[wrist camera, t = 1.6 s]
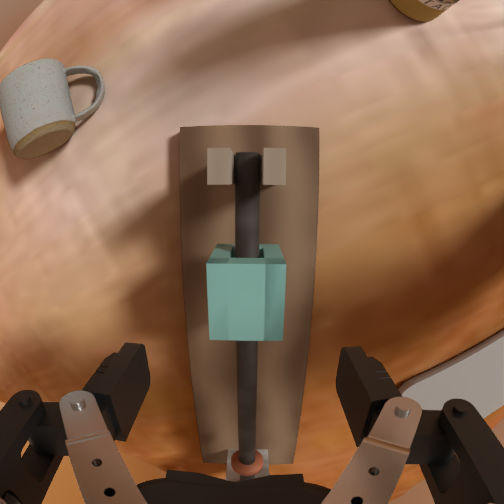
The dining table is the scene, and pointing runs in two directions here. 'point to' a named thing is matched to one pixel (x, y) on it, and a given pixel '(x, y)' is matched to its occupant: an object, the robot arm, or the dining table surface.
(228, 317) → the sleeve
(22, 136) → the ceramic mug
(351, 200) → the dining table surface
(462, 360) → the tablet
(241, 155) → the stand
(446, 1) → the paper tube
